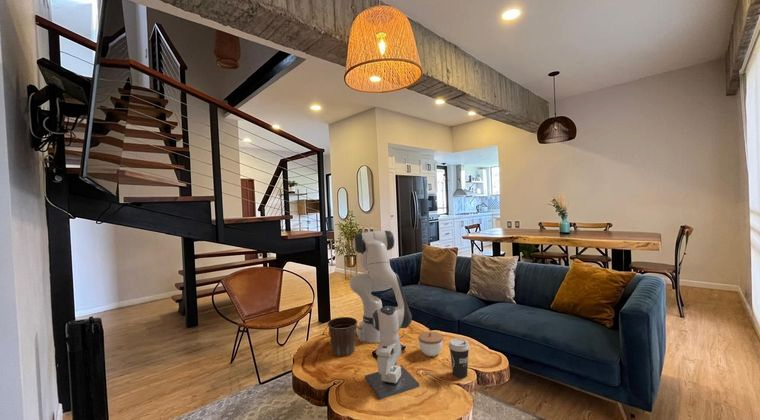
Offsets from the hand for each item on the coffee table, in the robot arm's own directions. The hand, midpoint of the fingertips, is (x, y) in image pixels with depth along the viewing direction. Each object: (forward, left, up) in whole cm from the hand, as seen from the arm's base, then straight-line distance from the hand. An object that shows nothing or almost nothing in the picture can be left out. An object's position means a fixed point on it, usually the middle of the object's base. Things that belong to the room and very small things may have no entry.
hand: (391, 374), depth 144 cm
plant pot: (-39, -10, -4) cm, 41 cm away
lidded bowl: (-14, +30, -4) cm, 33 cm away
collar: (0, 0, -2) cm, 2 cm away
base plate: (0, 0, -4) cm, 4 cm away
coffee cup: (+9, +31, -4) cm, 32 cm away
